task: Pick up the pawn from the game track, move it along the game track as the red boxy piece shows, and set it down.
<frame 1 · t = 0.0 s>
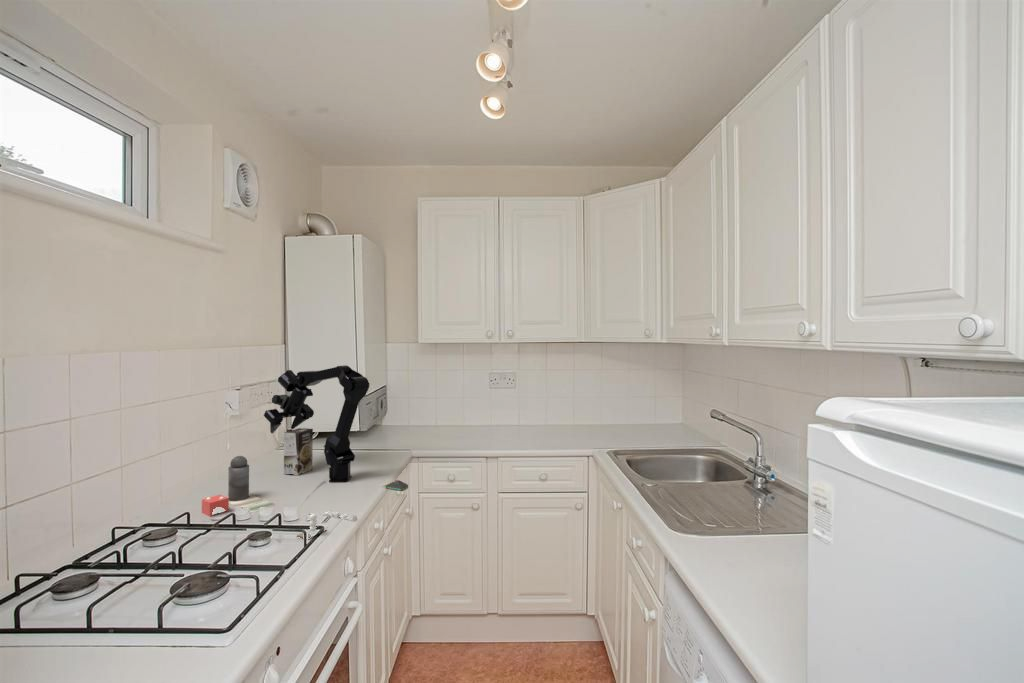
hand: (281, 430, 182), 15 cm above the countertop, tool tilted 35°, fingers open, 9 cm apart
game track: (248, 506, 142), on the countertop
pawn: (238, 498, 146), point 1 cm above the countertop, touching game track
red boxy piece: (215, 515, 134), on the countertop
game pieces: (355, 510, 142), on the countertop
coffee box: (298, 472, 178), on the countertop
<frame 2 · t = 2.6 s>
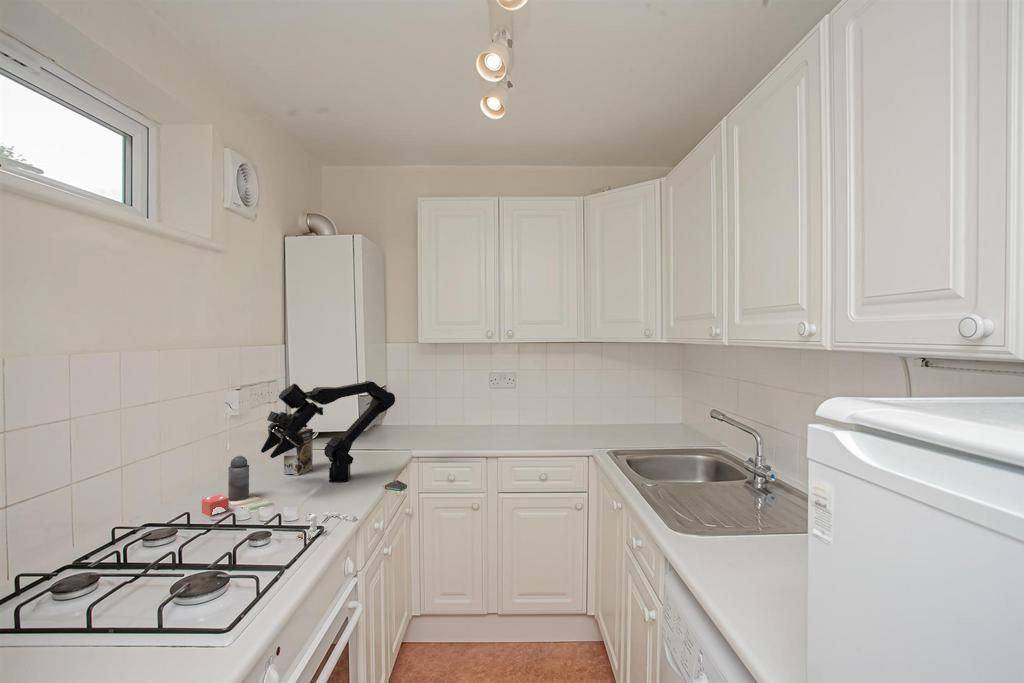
hand: (266, 454, 151), 14 cm above the countertop, tool tilted 45°, fingers open, 9 cm apart
nothing on the countertop moved.
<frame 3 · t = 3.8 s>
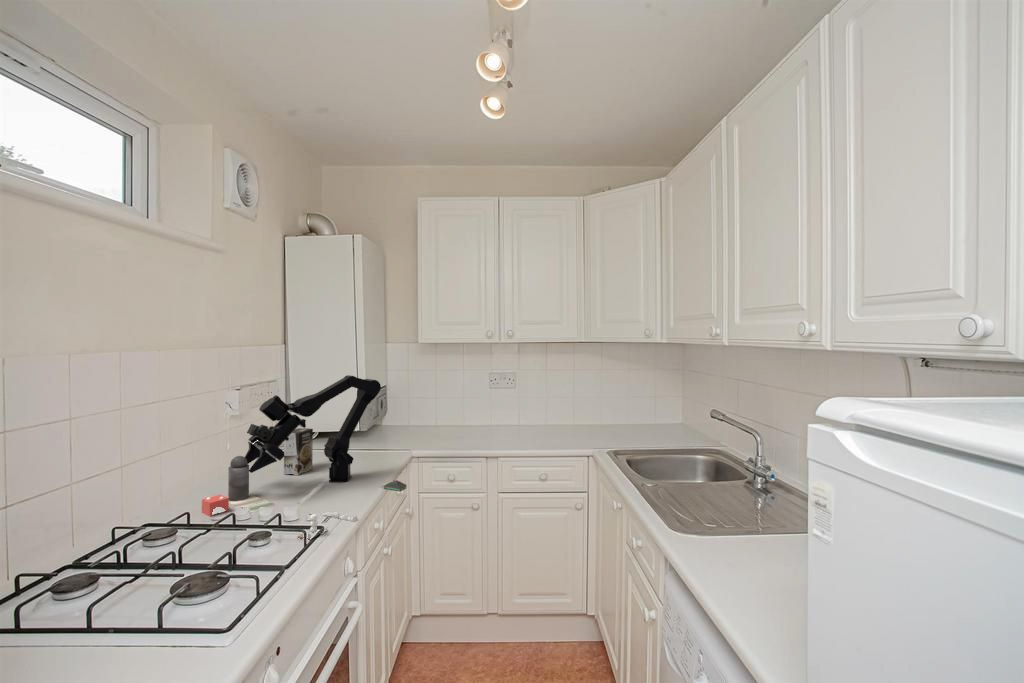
hand: (245, 468, 147), 10 cm above the countertop, tool tilted 45°, fingers open, 9 cm apart
nothing on the countertop moved.
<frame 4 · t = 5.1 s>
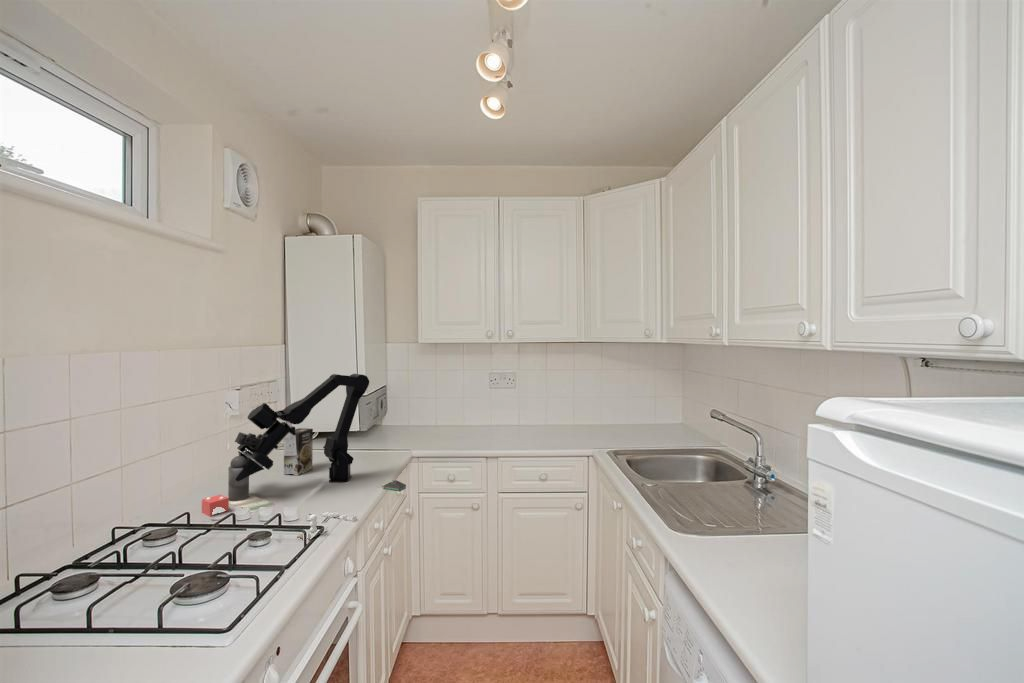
hand: (233, 478, 144), 8 cm above the countertop, tool tilted 45°, fingers closed on pawn, 6 cm apart
pawn: (238, 498, 146), point 1 cm above the countertop, touching game track, gripper
everything else where it was.
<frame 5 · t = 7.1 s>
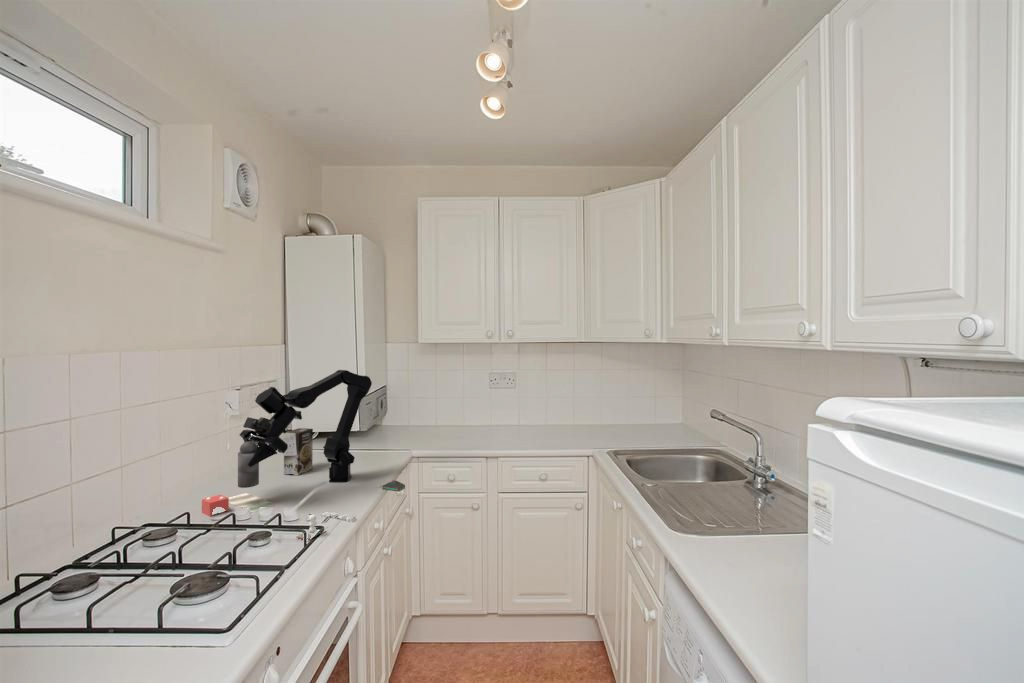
hand: (243, 464, 140), 13 cm above the countertop, tool tilted 45°, fingers closed on pawn, 6 cm apart
pawn: (248, 484, 141), point 7 cm above the countertop, touching gripper
everything else where it was.
when the fingers open (9 cm above the countertop, at t = 9.0 s): pawn drops 1 cm, resting on game track.
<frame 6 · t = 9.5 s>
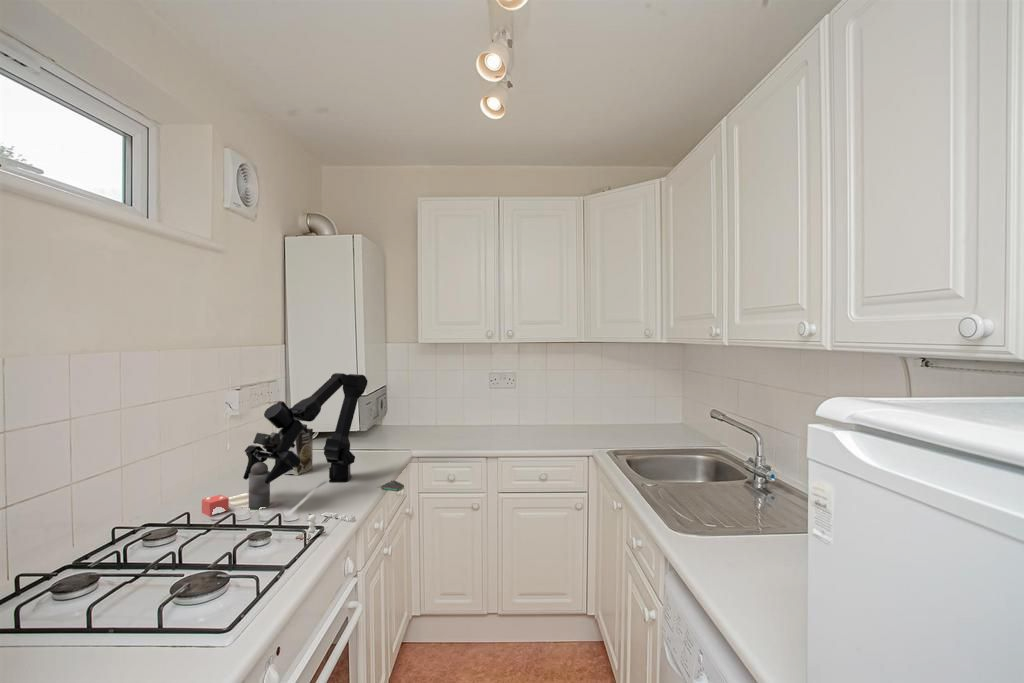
hand: (255, 481, 137), 9 cm above the countertop, tool tilted 45°, fingers open, 9 cm apart
pawn: (259, 506, 139), point 1 cm above the countertop, touching game track
everything else where it was.
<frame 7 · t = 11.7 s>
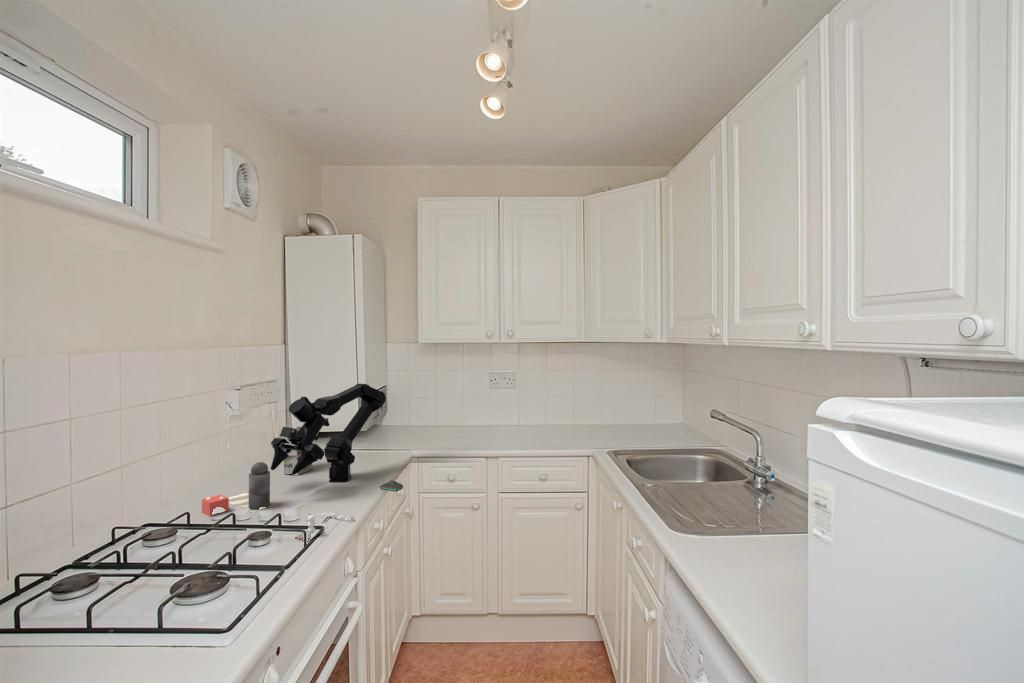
hand: (282, 471, 146), 9 cm above the countertop, tool tilted 45°, fingers open, 9 cm apart
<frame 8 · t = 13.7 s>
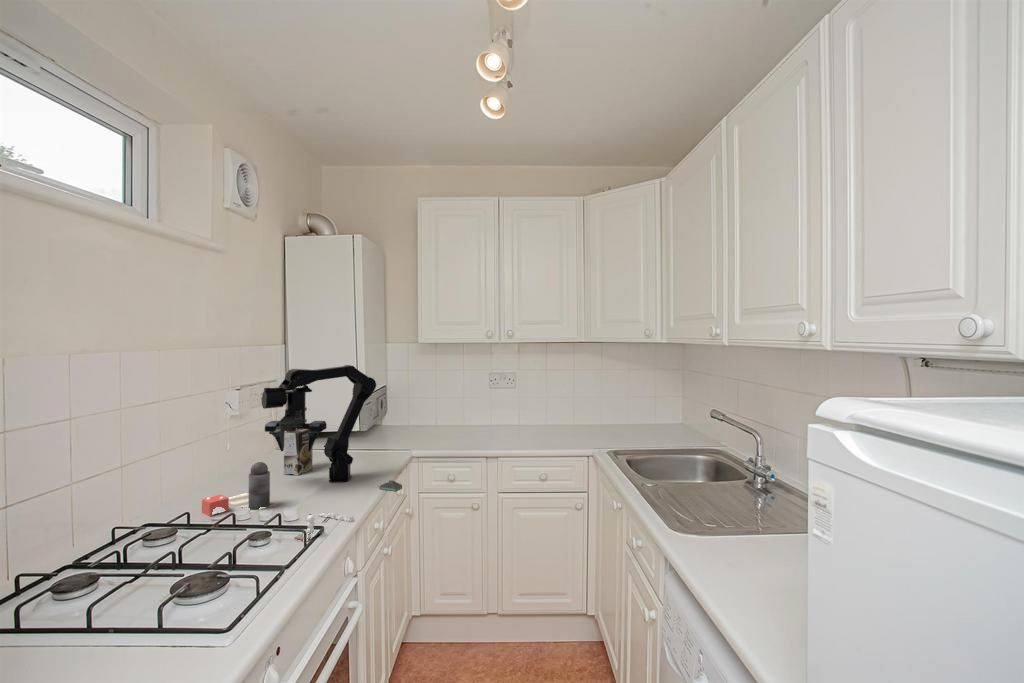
hand: (296, 451, 158), 13 cm above the countertop, tool pointing down, fingers open, 9 cm apart
at the end: pawn 0.0 cm from the target spot, point 1.2 cm above the countertop; pawn tilted 0°; the gripper is holding nothing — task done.
